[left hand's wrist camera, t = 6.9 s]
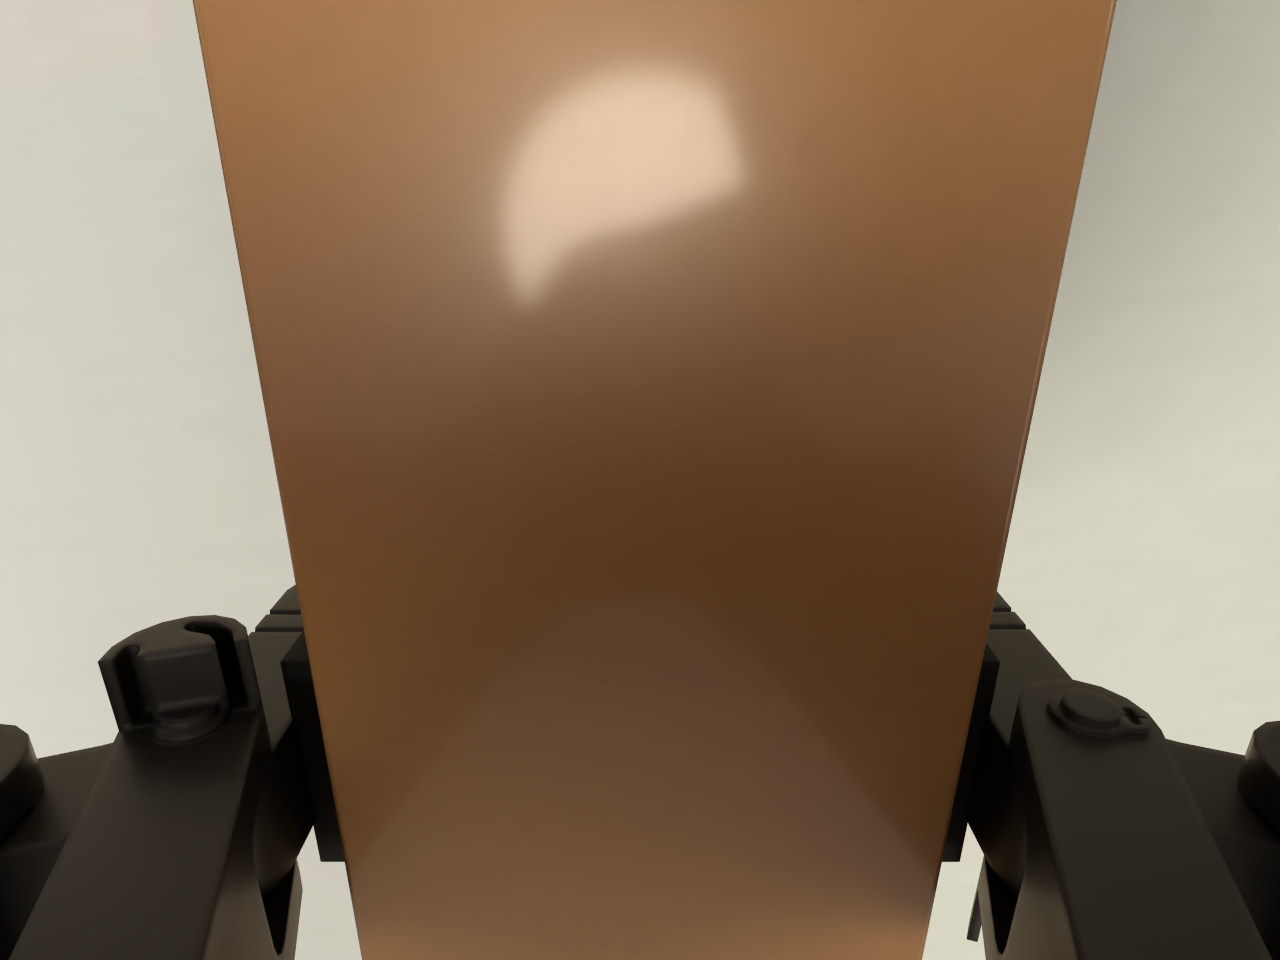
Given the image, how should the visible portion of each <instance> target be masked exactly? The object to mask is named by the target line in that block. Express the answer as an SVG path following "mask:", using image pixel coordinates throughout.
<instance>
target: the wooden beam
mask: <svg viewBox="0 0 1280 960" xmlns="http://www.w3.org/2000/svg"><path fill="white" fill-rule="evenodd" d="M1116 1H1117V0H193V5H194V10H195V16H196V22H197V27H198V33H199V39H200V44H201V50H202V56H203V61H204V67H205V73H206V78H207V84H208V90H209V95H210V101H211V107H212V112H213V118H214V124H215V129H216V135H217V141H218V146H219V152H220V158H221V163H222V169H223V174H224V180H225V186H226V191H227V197H228V203H229V208H230V214H231V220H232V225H233V231H234V237H235V242H236V248H237V254H238V259H239V265H240V271H241V276H242V282H243V288H244V293H245V299H246V305H247V310H248V316H249V322H250V327H251V333H252V339H253V344H254V350H255V356H256V361H257V367H258V373H259V378H260V384H261V390H262V395H263V401H264V407H265V412H266V418H267V424H268V429H269V435H270V440H271V446H272V452H273V457H274V463H275V469H276V474H277V480H278V486H279V491H280V497H281V503H282V508H283V514H284V520H285V525H286V531H287V537H288V542H289V548H290V554H291V559H292V565H293V571H294V576H295V582H296V588H297V593H298V599H299V605H300V610H301V616H302V622H303V627H304V633H305V639H306V644H307V650H308V656H309V661H310V667H311V673H312V678H313V684H314V690H315V695H316V701H317V706H318V712H319V718H320V723H321V729H322V735H323V740H324V746H325V752H326V757H327V763H328V769H329V774H330V780H331V786H332V791H333V797H334V803H335V808H336V814H337V820H338V825H339V831H340V837H341V842H342V848H343V854H344V859H345V865H346V871H347V876H348V882H349V888H350V893H351V899H352V905H353V910H354V916H355V922H356V927H357V933H358V939H359V944H360V950H361V955H362V960H922V956H923V951H924V946H925V941H926V936H927V931H928V927H929V922H930V917H931V912H932V907H933V902H934V897H935V892H936V887H937V882H938V877H939V872H940V867H941V863H942V858H943V853H944V848H945V843H946V838H947V833H948V828H949V823H950V818H951V813H952V808H953V803H954V799H955V794H956V789H957V784H958V779H959V774H960V769H961V764H962V759H963V754H964V749H965V744H966V739H967V735H968V730H969V725H970V720H971V715H972V710H973V705H974V700H975V695H976V690H977V685H978V680H979V675H980V671H981V666H982V661H983V656H984V651H985V646H986V641H987V636H988V631H989V626H990V621H991V616H992V611H993V607H994V602H995V597H996V592H997V587H998V582H999V577H1000V572H1001V567H1002V562H1003V557H1004V552H1005V547H1006V543H1007V538H1008V533H1009V528H1010V523H1011V518H1012V513H1013V508H1014V503H1015V498H1016V493H1017V488H1018V484H1019V479H1020V474H1021V469H1022V464H1023V459H1024V454H1025V449H1026V444H1027V439H1028V434H1029V429H1030V424H1031V420H1032V415H1033V410H1034V405H1035V400H1036V395H1037V390H1038V385H1039V380H1040V375H1041V370H1042V365H1043V360H1044V356H1045V351H1046V346H1047V341H1048V336H1049V331H1050V326H1051V321H1052V316H1053V311H1054V306H1055V301H1056V296H1057V292H1058V287H1059V282H1060V277H1061V272H1062V267H1063V262H1064V257H1065V252H1066V247H1067V242H1068V237H1069V232H1070V228H1071V223H1072V218H1073V213H1074V208H1075V203H1076V198H1077V193H1078V188H1079V183H1080V178H1081V173H1082V168H1083V164H1084V159H1085V154H1086V149H1087V144H1088V139H1089V134H1090V129H1091V124H1092V119H1093V114H1094V109H1095V104H1096V100H1097V95H1098V90H1099V85H1100V80H1101V75H1102V70H1103V65H1104V60H1105V55H1106V50H1107V45H1108V40H1109V36H1110V31H1111V26H1112V21H1113V16H1114V11H1115V6H1116Z"/></svg>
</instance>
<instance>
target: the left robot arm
mask: <svg viewBox="0 0 1280 960" xmlns="http://www.w3.org/2000/svg"><path fill="white" fill-rule="evenodd" d="M98 664H99V667H100V670H101V674H102V677H103V680H104V683H105V687H106V690H107V693H108V696H109V700H110V703H111V706H112V709H113V713H114V716H115V719H116V722H117V726H118V729H119V732H118V734H117V736H116V738H115V740H114V743H110V744H106V745H102V746H98V747H93V748H88V749H83V750H78V751H73V752H68V753H63V754H58V755H53V756H48V757H43V758H39V759H37V758H36V755H35V752H34V749H33V747H32V744H31V741H30V738H29V736H28V734H27V733H25V732H24V731H23V730H21V729H20V728H18V727H17V726H14V725H5V724H0V960H294V958H295V949H296V941H297V932H298V924H299V915H300V907H301V899H302V884H301V877H300V871H299V867H298V862H297V856H298V854H299V852H300V850H301V848H302V846H303V844H304V842H305V840H306V838H307V836H308V834H309V832H310V830H311V828H312V826H313V825H314V830H315V835H316V840H317V845H318V850H319V855H320V860H321V862H345V859H344V854H343V848H342V842H341V837H340V831H339V825H338V820H337V814H336V808H335V803H334V797H333V791H332V786H331V780H330V774H329V769H328V763H327V757H326V752H325V746H324V740H323V735H322V729H321V723H320V718H319V712H318V706H317V701H316V695H315V690H314V684H313V678H312V673H311V667H310V661H309V656H308V650H307V644H306V639H305V633H304V627H303V622H302V616H301V610H300V605H299V599H298V593H297V588H296V585H295V586H293V587H292V588H290V589H288V590H287V591H286V592H285V593H284V595H283V596H282V597H281V598H280V599H279V600H278V602H277V603H276V604H275V605H274V606H273V608H272V609H271V610H270V615H266V616H265V617H264V618H263V619H262V620H261V622H260V623H259V624H258V625H257V626H256V628H255V632H251V633H250V635H249V636H248V634H247V630H246V627H245V626H244V625H242V624H241V623H239V622H238V621H237V620H235V619H233V618H227V617H222V616H217V615H208V616H189V617H185V618H180V619H176V620H171V621H167V622H162V623H159V624H157V625H154V626H152V627H149V628H146V629H144V630H141V631H139V632H136V633H134V634H132V635H131V636H129V637H127V638H126V639H124V640H122V641H121V642H119V643H117V644H116V645H114V646H113V647H111V648H110V649H109V651H108V652H107V653H106V654H105V655H104V656H103V657H102V658H101V659H100V660H99V661H98ZM967 823H968V824H969V825H970V827H971V829H972V831H973V833H974V835H975V837H976V839H977V841H978V843H979V845H980V847H981V849H982V851H983V853H984V858H983V862H982V867H981V871H980V876H979V880H978V885H977V890H976V894H975V899H974V903H973V908H972V912H971V917H970V922H969V928H968V934H967V939H968V940H972V941H976V942H977V941H978V937H979V933H980V928H981V925H982V930H983V939H984V947H985V956H986V960H1280V721H1274V722H1266V723H1264V724H1263V725H1262V726H1260V727H1259V728H1257V729H1256V730H1254V732H1253V735H1252V738H1251V740H1250V743H1249V746H1248V749H1247V751H1246V754H1245V756H1244V755H1239V754H1234V753H1229V752H1224V751H1219V750H1215V749H1210V748H1205V747H1200V746H1195V745H1190V744H1185V743H1180V742H1176V741H1172V740H1168V739H1165V737H1164V735H1163V733H1162V731H1161V729H1160V728H1159V727H1158V725H1157V724H1156V723H1155V722H1154V720H1153V719H1152V718H1151V717H1150V715H1149V714H1148V713H1147V712H1145V711H1144V710H1143V709H1141V708H1140V707H1138V706H1137V705H1135V704H1134V703H1133V702H1131V701H1130V700H1128V699H1127V698H1125V697H1123V696H1120V695H1118V694H1116V693H1114V692H1111V691H1109V690H1107V689H1105V688H1103V687H1100V686H1096V685H1092V684H1088V683H1084V682H1080V681H1076V680H1072V678H1071V677H1070V676H1069V675H1068V674H1067V673H1066V671H1065V670H1064V669H1063V668H1062V667H1061V666H1060V664H1059V663H1058V662H1057V661H1056V660H1055V659H1054V657H1053V656H1052V655H1051V654H1050V653H1049V652H1048V650H1047V649H1046V648H1045V647H1044V646H1043V645H1042V643H1041V642H1040V641H1039V640H1038V639H1037V638H1036V636H1035V635H1034V634H1033V633H1032V632H1031V631H1030V629H1026V625H1025V624H1024V622H1023V621H1022V620H1021V619H1020V618H1019V617H1018V615H1017V614H1016V613H1015V612H1011V607H1010V606H1009V605H1008V604H1007V603H1006V601H1005V600H1004V599H1003V598H1002V597H1001V596H1000V594H999V593H998V592H996V597H995V602H994V607H993V611H992V616H991V621H990V626H989V631H988V636H987V641H986V646H985V651H984V656H983V661H982V666H981V671H980V675H979V680H978V685H977V690H976V695H975V700H974V705H973V710H972V715H971V720H970V725H969V730H968V735H967V739H966V744H965V749H964V754H963V759H962V764H961V769H960V774H959V779H958V784H957V789H956V794H955V799H954V803H953V808H952V813H951V818H950V823H949V828H948V833H947V838H946V843H945V848H944V853H943V858H942V862H960V857H961V852H962V848H963V843H964V838H965V833H966V828H967Z"/></svg>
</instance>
